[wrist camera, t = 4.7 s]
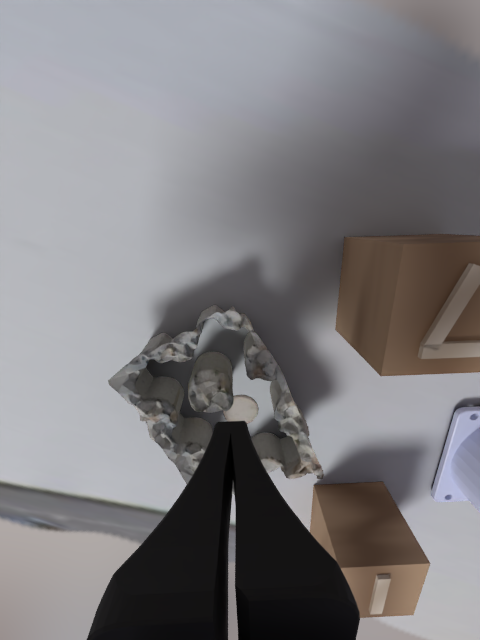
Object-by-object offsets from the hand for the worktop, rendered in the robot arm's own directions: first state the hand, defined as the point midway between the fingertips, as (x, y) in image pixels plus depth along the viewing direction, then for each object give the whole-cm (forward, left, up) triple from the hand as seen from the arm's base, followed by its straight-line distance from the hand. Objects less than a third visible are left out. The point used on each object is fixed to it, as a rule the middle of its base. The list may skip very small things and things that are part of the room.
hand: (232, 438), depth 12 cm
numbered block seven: (-9, -6, -4) cm, 11 cm away
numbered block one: (-8, +11, -4) cm, 14 cm away
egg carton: (0, 0, -5) cm, 5 cm away
